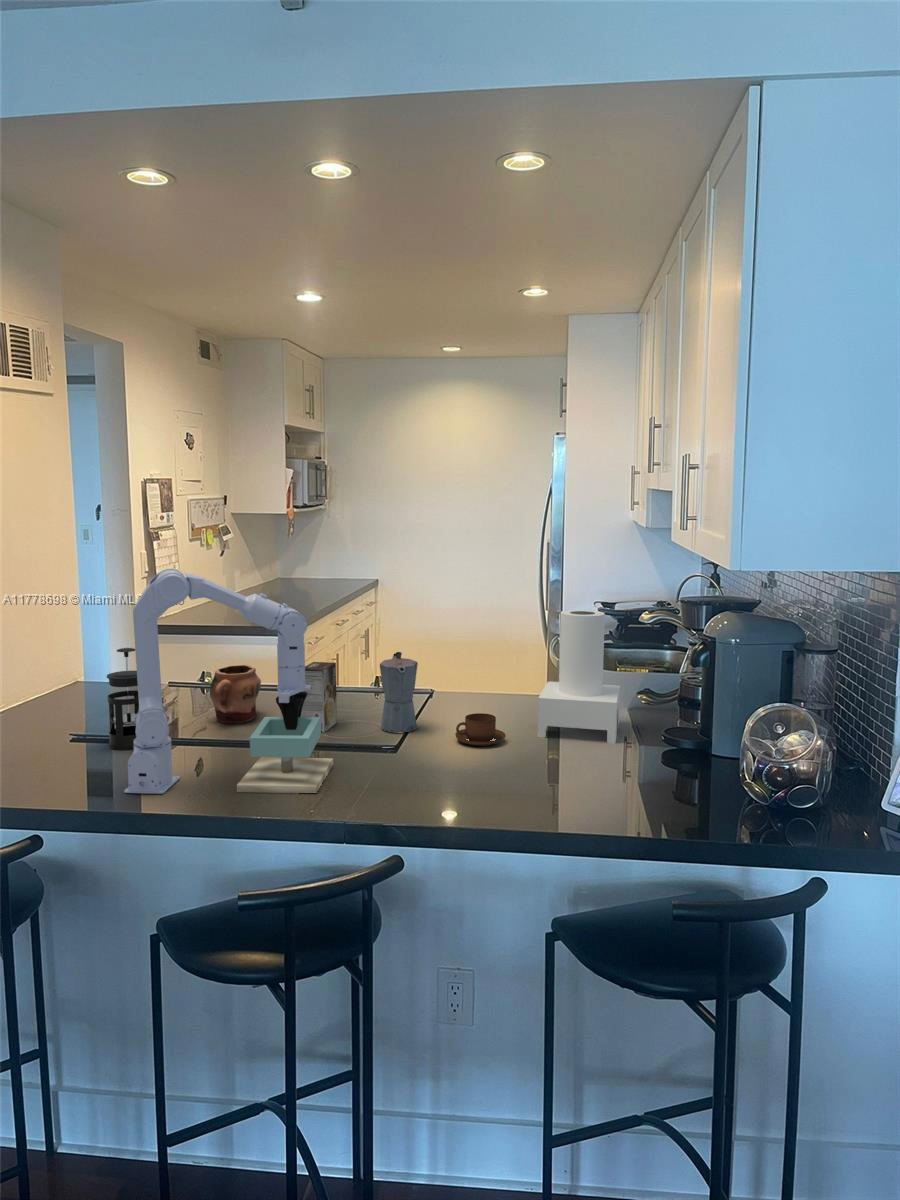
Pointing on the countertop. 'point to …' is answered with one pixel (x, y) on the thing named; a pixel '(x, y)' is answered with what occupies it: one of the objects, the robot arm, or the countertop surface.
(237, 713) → the decorative planter
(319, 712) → the coffee box
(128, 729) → the french press
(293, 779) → the post board
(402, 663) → the moka pot
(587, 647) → the paper towel holder
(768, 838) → the countertop surface
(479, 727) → the cup and saucer
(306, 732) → the square loop
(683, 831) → the countertop surface
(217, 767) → the countertop surface
